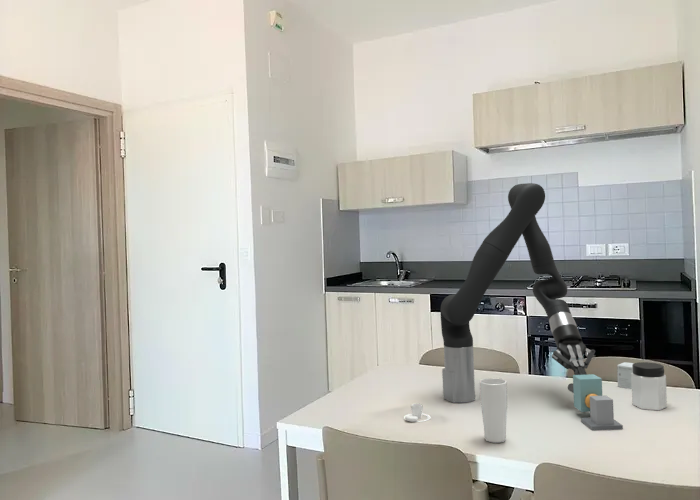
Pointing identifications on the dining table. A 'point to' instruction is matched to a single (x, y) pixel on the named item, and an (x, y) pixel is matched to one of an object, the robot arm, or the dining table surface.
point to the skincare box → (624, 374)
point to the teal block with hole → (585, 389)
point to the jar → (648, 386)
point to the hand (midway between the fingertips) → (582, 380)
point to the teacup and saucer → (416, 413)
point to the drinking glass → (494, 408)
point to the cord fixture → (599, 412)
